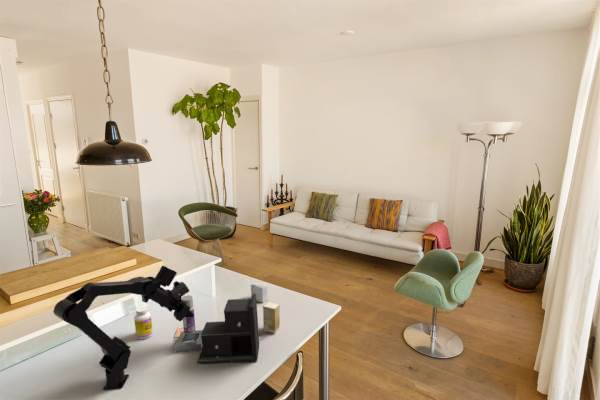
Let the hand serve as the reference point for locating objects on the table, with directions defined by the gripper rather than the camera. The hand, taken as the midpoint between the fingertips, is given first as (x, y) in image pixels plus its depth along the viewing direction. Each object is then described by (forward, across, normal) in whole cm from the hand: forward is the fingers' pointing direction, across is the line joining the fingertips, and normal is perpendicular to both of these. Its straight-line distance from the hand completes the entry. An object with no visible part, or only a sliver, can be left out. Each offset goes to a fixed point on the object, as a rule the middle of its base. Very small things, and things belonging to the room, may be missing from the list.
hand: (191, 313), depth 142 cm
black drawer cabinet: (+16, -17, +4) cm, 23 cm away
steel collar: (+8, -1, +10) cm, 13 cm away
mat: (+9, +10, +10) cm, 16 cm away
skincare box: (+31, -14, -12) cm, 36 cm away
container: (+5, 0, +6) cm, 8 cm away
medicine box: (+38, +14, -20) cm, 45 cm away
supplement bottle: (-1, +18, +20) cm, 28 cm away
